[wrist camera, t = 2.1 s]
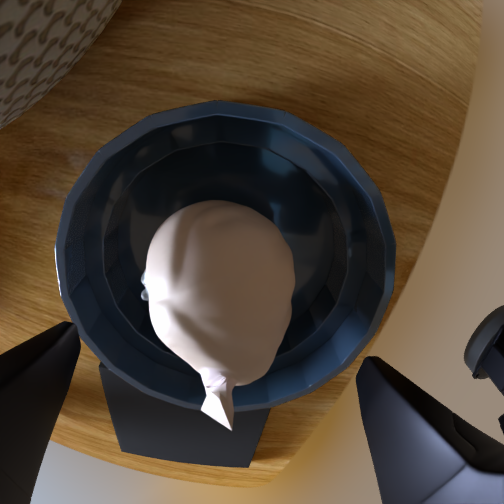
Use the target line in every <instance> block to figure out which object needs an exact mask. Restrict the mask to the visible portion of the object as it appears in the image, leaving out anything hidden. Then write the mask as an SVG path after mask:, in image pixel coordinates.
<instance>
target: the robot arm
mask: <svg viewBox="0 0 504 504" xmlns="http://www.w3.org/2000/svg"><path fill="white" fill-rule="evenodd" d="M80 350H81V343H80V338H79V333H78V328H77V325H76V324H75V323H71V322H67V321H64V322H61V323H59V324H58V325H56V326H54V327H52V328H50V329H48V330H46V331H44V332H42V333H40V334H38V335H37V336H35V337H33V338H31V339H29V340H27V341H25V342H23V343H21V344H20V345H18V346H16V347H14V348H12V349H10V350H8V351H7V352H5V353H3V354H1V355H0V504H30V501H31V497H32V493H33V490H34V486H35V483H36V479H37V476H38V473H39V470H40V466H41V463H42V460H43V457H44V453H45V451H46V448H47V445H48V442H49V439H50V437H51V434H52V431H53V428H54V426H55V423H56V420H57V418H58V415H59V413H60V410H61V407H62V405H63V402H64V400H65V398H66V395H67V392H68V390H69V386H70V383H71V380H72V376H73V373H74V370H75V366H76V363H77V360H78V357H79V354H80ZM472 376H473V378H474V379H477V378H482V377H487V376H488V377H489V378H490V379H491V380H492V382H493V383H494V384H495V386H496V387H497V388H498V390H499V391H500V392H501V393H502V394H503V396H504V324H502V325H501V327H500V328H499V330H498V332H497V334H496V336H495V337H494V339H493V341H492V343H491V345H490V346H489V348H488V350H487V351H486V353H485V355H484V356H483V358H482V360H481V361H480V363H479V365H478V366H477V368H476V369H475V371H474V372H473V374H472ZM356 385H357V391H358V397H359V404H360V410H361V416H362V421H363V425H364V429H365V433H366V437H367V441H368V445H369V448H370V453H371V456H372V461H373V465H374V469H375V473H376V477H377V481H378V486H379V490H380V494H381V500H382V504H504V445H503V444H501V443H500V442H498V441H497V440H495V439H493V438H491V437H490V436H488V435H486V434H485V433H483V432H482V431H480V430H478V429H477V428H475V427H474V426H472V425H471V424H469V423H468V422H466V421H465V420H463V419H462V418H460V417H459V416H458V415H457V414H455V413H453V412H452V411H451V410H450V409H448V408H447V407H446V406H444V405H443V404H441V403H440V402H438V401H437V400H436V399H435V398H433V397H432V396H431V395H429V394H428V393H426V392H425V391H423V390H422V389H421V388H420V387H418V386H417V385H416V384H414V383H413V382H412V381H410V380H409V379H408V378H406V377H405V376H403V375H402V374H401V373H399V372H398V371H397V370H395V369H394V368H393V367H391V366H390V365H389V364H387V363H386V362H385V361H383V360H382V359H381V358H379V357H377V356H368V357H366V358H365V359H364V361H363V363H362V365H361V367H360V369H359V371H358V373H357V375H356ZM498 420H499V422H500V427H501V429H502V431H503V434H504V414H503V415H501V416H500V417H499V419H498Z"/></svg>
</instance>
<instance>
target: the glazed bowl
mask: <svg viewBox="0 0 504 504" xmlns="http://www.w3.org/2000/svg"><path fill="white" fill-rule="evenodd" d="M208 200H223V201H229V202H233V203H237V204H240V205H244V206H247V207H249V208H252V209H253V210H255V211H257V212H258V213H260V214H261V215H263V216H264V217H266V218H267V219H269V220H270V221H271V222H273V223H274V224H275V225H276V226H277V228H278V229H279V231H280V232H281V234H282V237H283V238H284V240H285V241H286V243H287V244H288V246H289V247H290V249H291V251H292V255H293V264H294V273H295V287H294V291H293V294H292V298H291V305H292V314H291V319H290V323H289V325H288V328H287V330H286V332H285V334H284V337H283V340H282V342H281V344H280V346H279V347H278V349H277V352H276V355H275V358H274V360H273V363H272V364H271V366H270V368H269V370H268V371H267V372H266V374H265V375H263V376H262V377H261V378H259V379H257V380H255V381H253V382H251V383H249V384H247V385H241V386H234V388H233V389H232V400H233V407H234V412H241V411H249V410H257V409H264V408H271V407H274V406H277V405H280V404H283V403H286V402H288V401H291V400H294V399H296V398H299V397H301V396H304V395H307V394H309V393H311V392H313V391H315V390H316V389H318V388H319V387H321V386H322V385H324V384H325V383H327V382H328V381H329V380H331V379H332V378H334V377H335V376H337V375H338V374H339V373H341V372H342V371H344V370H345V369H346V368H347V367H349V365H350V364H351V363H352V362H353V361H354V360H355V358H356V357H357V356H358V355H359V354H360V352H361V351H362V350H363V349H364V348H365V346H366V345H367V344H368V343H369V341H370V340H371V339H372V338H373V336H374V335H375V333H376V332H377V330H378V328H379V325H380V323H381V321H382V318H383V316H384V313H385V311H386V309H387V306H388V304H389V301H390V299H391V296H392V293H393V290H394V277H395V261H396V240H395V236H394V233H393V229H392V226H391V223H390V219H389V216H388V213H387V210H386V206H385V203H384V200H383V197H382V194H381V192H380V190H379V188H378V187H377V186H376V184H375V183H374V182H373V180H372V179H371V178H370V177H369V175H368V174H367V173H366V171H365V170H364V169H363V168H362V166H361V165H360V164H359V162H358V161H357V160H356V159H355V158H354V156H353V155H352V154H351V153H350V151H349V150H348V149H347V148H346V147H345V145H343V144H342V143H341V142H339V141H338V140H336V139H334V138H333V137H331V136H329V135H328V134H326V133H324V132H323V131H321V130H319V129H318V128H316V127H314V126H313V125H311V124H309V123H307V122H306V121H304V120H302V119H300V118H299V117H297V116H295V115H293V114H291V113H290V112H287V111H285V110H280V109H275V108H269V107H263V106H257V105H251V104H245V103H238V102H231V101H223V100H218V101H217V100H213V101H208V102H203V103H198V104H193V105H188V106H184V107H179V108H175V109H170V110H166V111H162V112H158V113H154V114H152V115H149V116H147V117H146V118H144V119H142V120H141V121H139V122H138V123H136V124H135V125H133V126H132V127H130V128H129V129H127V130H126V131H124V132H123V133H121V134H120V135H118V136H117V137H115V138H114V139H113V140H111V141H110V142H108V143H107V144H105V145H104V146H103V147H101V148H100V149H99V151H97V152H96V154H95V155H94V156H93V158H92V159H91V160H90V162H89V163H88V165H87V166H86V168H85V169H84V171H83V172H82V173H81V175H80V176H79V178H78V179H77V181H76V182H75V184H74V186H73V187H72V189H71V190H70V192H69V193H68V195H67V198H66V199H65V203H64V207H63V211H62V215H61V219H60V224H59V228H58V233H57V238H56V243H55V258H56V268H57V276H58V283H59V290H60V295H61V298H62V300H63V303H64V305H65V307H66V309H67V311H68V314H69V316H70V318H71V320H72V322H73V323H75V324H76V325H77V328H78V333H79V336H80V338H81V339H82V340H83V341H84V342H85V344H86V345H87V346H88V347H89V348H90V349H91V350H92V352H93V353H94V354H95V355H96V356H97V357H98V358H99V359H100V361H101V362H102V363H103V364H104V365H105V366H106V367H107V368H108V369H110V371H112V372H113V373H115V374H116V375H117V376H119V377H120V378H122V379H123V380H125V381H126V382H128V383H129V384H131V385H133V386H134V387H136V388H137V389H139V390H140V391H142V392H144V393H146V394H147V395H150V396H153V397H155V398H158V399H161V400H164V401H167V402H169V403H172V404H175V405H178V406H181V407H184V408H186V407H187V408H189V409H197V410H201V408H202V406H203V403H204V401H205V399H206V396H207V394H206V390H205V387H204V383H203V380H202V376H201V374H200V373H199V372H197V371H196V370H195V369H194V368H193V367H192V366H191V365H190V364H188V363H187V362H186V361H185V360H183V359H182V358H181V357H179V356H178V355H177V354H175V353H174V352H173V351H172V350H171V349H170V348H169V347H167V346H166V345H165V344H164V343H163V342H162V341H161V339H160V338H159V337H158V335H157V334H156V332H155V330H154V327H153V325H152V322H151V318H150V311H149V301H146V300H143V299H142V297H141V293H142V291H143V290H145V289H146V288H145V286H144V284H142V282H141V277H142V274H143V273H144V271H145V269H146V262H147V255H148V250H149V247H150V244H151V241H152V239H153V237H154V235H155V233H156V231H157V230H158V228H159V227H160V226H161V224H162V223H163V222H164V221H165V220H166V219H167V218H169V217H170V216H171V215H172V214H174V213H175V212H177V211H179V210H180V209H182V208H185V207H187V206H190V205H192V204H195V203H198V202H203V201H208Z"/></svg>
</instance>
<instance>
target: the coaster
mask: <svg viewBox="0 0 504 504" xmlns="http://www.w3.org/2000/svg"><path fill="white" fill-rule="evenodd" d="M99 371H100V375H101V380H102V384H103V388H104V392H105V396H106V400H107V404H108V408H109V412H110V415H111V419H112V422H113V426H114V429H115V432H116V436H117V439H118V442H119V445H120V448H121V451H122V452H127V453H131V454H136V455H141V456H146V457H151V458H157V459H163V460H169V461H176V462H183V463H191V464H200V465H210V466H223V467H242V468H249V465H250V463H251V460H252V458H253V455H254V452H255V450H256V447H257V444H258V442H259V439H260V436H261V434H262V431H263V428H264V425H265V423H266V420H267V417H268V414H269V411H270V409H271V408H264V409H257V410H249V411H241V412H234V417H233V427H232V431H231V430H230V429H228V428H227V427H225V426H224V425H222V424H221V423H219V422H218V421H216V420H215V419H213V418H212V417H210V416H209V415H207V414H206V413H204V412H203V411H202V410H197V409H189V408H187V407H186V408H184V407H181V406H178V405H175V404H172V403H169V402H167V401H164V400H161V399H158V398H155V397H153V396H150V395H147V394H146V393H144V392H142V391H140V390H139V389H137V388H136V387H134V386H133V385H131V384H129V383H128V382H126V381H125V380H123V379H122V378H120V377H119V376H117V375H116V374H115V373H113V372H112V371H110V369H108V368H107V367H106V366H105V365H104V364H103V363H102V362H100V365H99Z"/></svg>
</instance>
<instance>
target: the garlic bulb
mask: <svg viewBox="0 0 504 504" xmlns="http://www.w3.org/2000/svg"><path fill="white" fill-rule="evenodd" d="M141 282H142V284H144V286H145V288H146V289H145V290H143V291H142V293H141V297H142V299H143V300H146V301H149V311H150V318H151V322H152V325H153V327H154V330H155V332H156V334H157V335H158V337H159V338H160V339H161V341H162V342H163V343H164V344H165V345H166V346H167V347H169V348H170V349H171V350H172V351H173V352H174V353H175V354H177V355H178V356H179V357H181V358H182V359H183V360H185V361H186V362H187V363H188V364H190V365H191V366H192V367H193V368H194V369H195V370H196V371H197V372H199V373H200V374H201V376H202V380H203V383H204V387H205V390H206V394H207V396H206V399H205V401H204V403H203V406H202V408H201V410H202V411H203V412H204V413H206V414H207V415H209V416H210V417H212V418H213V419H215V420H216V421H218V422H219V423H221V424H222V425H224V426H225V427H227V428H228V429H230V430H231V431H232V427H233V417H234V407H233V400H232V389H233V388H234V386H241V385H247V384H249V383H251V382H253V381H255V380H257V379H259V378H261V377H262V376H263V375H265V374H266V372H267V371H268V370H269V368H270V366H271V364H272V363H273V360H274V358H275V355H276V352H277V349H278V347H279V346H280V344H281V342H282V340H283V337H284V334H285V332H286V330H287V328H288V325H289V323H290V319H291V314H292V305H291V298H292V294H293V291H294V287H295V273H294V264H293V255H292V251H291V249H290V247H289V246H288V244H287V243H286V241H285V240H284V238H283V237H282V234H281V232H280V231H279V229H278V228H277V226H276V225H275V224H274V223H273V222H271V221H270V220H269V219H267V218H266V217H264V216H263V215H261V214H260V213H258V212H257V211H255V210H253V209H252V208H249V207H247V206H244V205H240V204H237V203H233V202H229V201H223V200H208V201H203V202H198V203H195V204H192V205H190V206H187V207H185V208H182V209H180V210H179V211H177V212H175V213H174V214H172V215H171V216H170V217H169V218H167V219H166V220H165V221H164V222H163V223H162V224H161V226H160V227H159V228H158V230H157V231H156V233H155V235H154V237H153V239H152V241H151V244H150V247H149V250H148V255H147V262H146V269H145V271H144V273H143V274H142V277H141Z"/></svg>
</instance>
